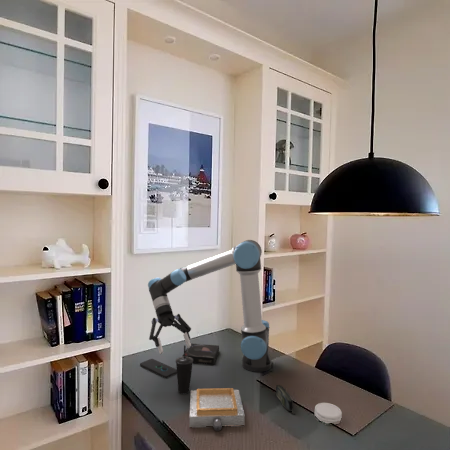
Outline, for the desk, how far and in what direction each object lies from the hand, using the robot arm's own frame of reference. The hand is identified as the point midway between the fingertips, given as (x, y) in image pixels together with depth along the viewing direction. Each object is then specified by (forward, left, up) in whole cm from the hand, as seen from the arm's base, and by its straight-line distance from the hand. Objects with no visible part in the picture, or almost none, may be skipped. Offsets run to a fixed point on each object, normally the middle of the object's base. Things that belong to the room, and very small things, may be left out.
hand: (176, 349), depth 152 cm
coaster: (-60, +26, -16) cm, 68 cm away
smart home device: (+9, -16, -17) cm, 25 cm away
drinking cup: (-4, +5, -16) cm, 18 cm away
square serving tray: (-17, +23, -16) cm, 33 cm away
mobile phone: (-46, +17, -16) cm, 51 cm away
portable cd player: (-12, -30, -17) cm, 36 cm away
